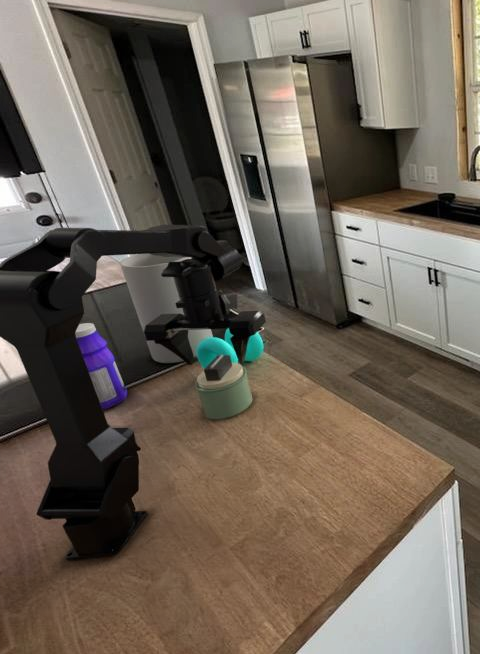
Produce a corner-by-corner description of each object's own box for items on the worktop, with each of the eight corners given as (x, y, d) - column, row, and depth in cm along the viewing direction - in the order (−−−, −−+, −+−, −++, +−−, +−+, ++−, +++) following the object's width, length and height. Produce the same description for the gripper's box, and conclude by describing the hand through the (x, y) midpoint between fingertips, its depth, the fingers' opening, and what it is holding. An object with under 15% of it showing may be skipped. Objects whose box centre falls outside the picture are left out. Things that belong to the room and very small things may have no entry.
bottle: (83, 403, 85) (51, 329, 78) (118, 388, 90) (90, 317, 83) (99, 415, 82) (67, 339, 75) (134, 398, 86) (107, 326, 80)
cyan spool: (269, 360, 101) (261, 324, 97) (233, 384, 92) (223, 345, 88) (237, 353, 103) (228, 317, 100) (199, 375, 94) (188, 337, 91)
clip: (220, 380, 80) (216, 367, 79) (206, 381, 80) (202, 368, 79) (232, 365, 85) (229, 353, 84) (220, 366, 85) (216, 353, 83)
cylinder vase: (213, 355, 102) (187, 261, 93) (148, 370, 96) (113, 270, 87) (215, 333, 112) (191, 246, 103) (156, 345, 105) (126, 253, 96)
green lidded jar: (241, 418, 82) (232, 385, 79) (194, 421, 81) (183, 388, 78) (260, 390, 90) (253, 359, 87) (217, 393, 89) (208, 362, 86)
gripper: (269, 273, 85) (282, 339, 90) (169, 276, 82) (189, 343, 88) (244, 296, 74) (261, 368, 80) (129, 300, 72) (155, 374, 77)
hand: (217, 362), depth 82 cm, fingers open, 9 cm apart
